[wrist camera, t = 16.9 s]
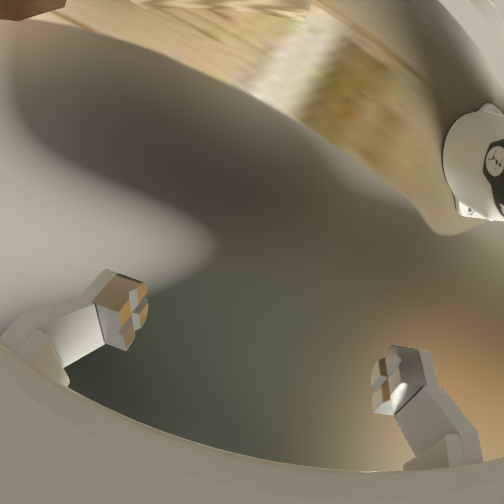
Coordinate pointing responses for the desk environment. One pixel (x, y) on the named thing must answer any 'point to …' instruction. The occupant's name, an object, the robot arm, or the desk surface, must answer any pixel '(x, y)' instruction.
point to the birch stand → (238, 6)
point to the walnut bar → (27, 8)
